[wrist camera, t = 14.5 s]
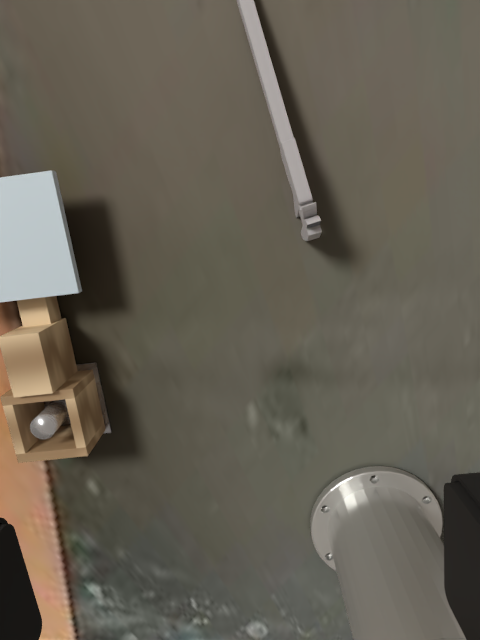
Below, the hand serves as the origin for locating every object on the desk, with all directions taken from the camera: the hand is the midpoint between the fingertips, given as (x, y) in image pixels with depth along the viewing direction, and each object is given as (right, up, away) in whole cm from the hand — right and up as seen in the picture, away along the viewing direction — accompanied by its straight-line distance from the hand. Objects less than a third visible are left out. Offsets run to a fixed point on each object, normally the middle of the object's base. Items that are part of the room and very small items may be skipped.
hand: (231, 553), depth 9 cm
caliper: (+3, +21, +24) cm, 32 cm away
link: (-16, +3, +29) cm, 33 cm away
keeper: (-18, +12, +27) cm, 34 cm away
